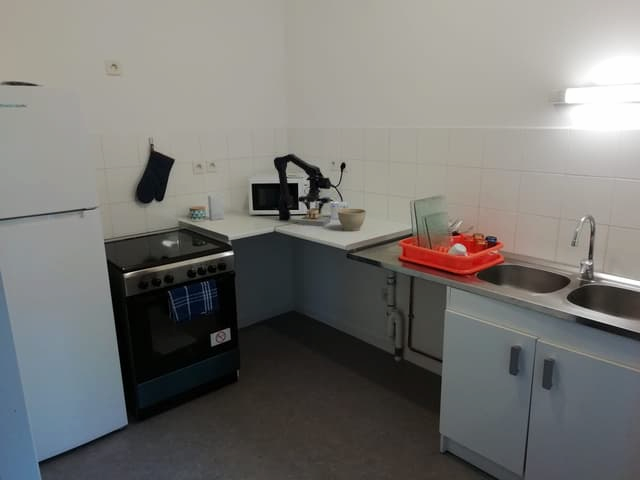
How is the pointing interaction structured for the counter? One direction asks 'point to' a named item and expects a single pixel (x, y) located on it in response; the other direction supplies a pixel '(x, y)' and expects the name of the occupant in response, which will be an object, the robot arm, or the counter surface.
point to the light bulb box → (337, 208)
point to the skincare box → (215, 207)
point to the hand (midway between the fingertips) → (314, 213)
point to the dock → (314, 221)
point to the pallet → (314, 212)
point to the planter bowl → (351, 218)
